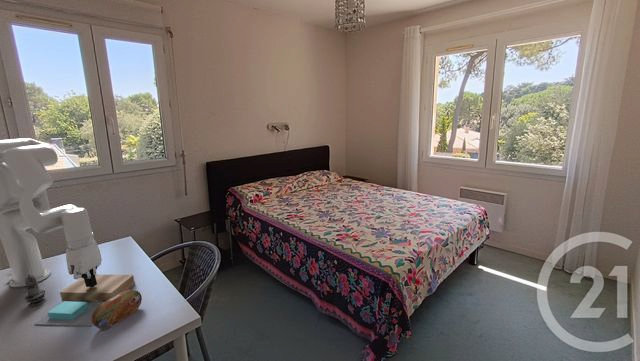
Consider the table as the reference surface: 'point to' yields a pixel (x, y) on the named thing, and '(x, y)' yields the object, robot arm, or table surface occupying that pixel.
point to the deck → (97, 288)
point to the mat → (80, 320)
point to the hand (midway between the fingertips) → (91, 285)
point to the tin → (116, 309)
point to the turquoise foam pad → (68, 310)
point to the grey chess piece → (34, 292)
